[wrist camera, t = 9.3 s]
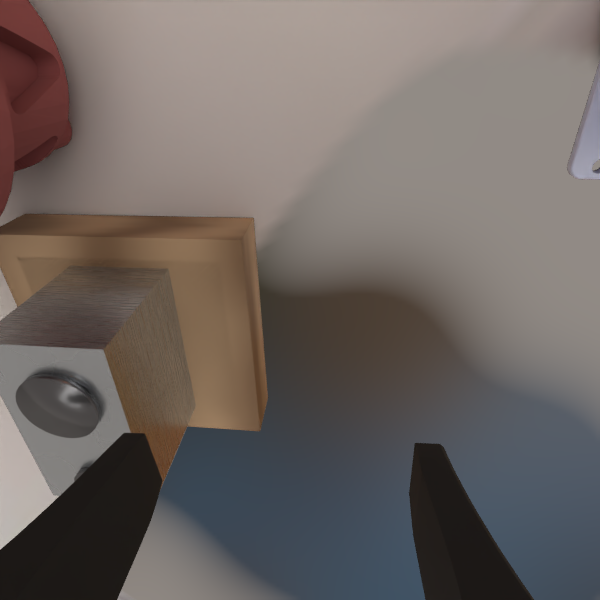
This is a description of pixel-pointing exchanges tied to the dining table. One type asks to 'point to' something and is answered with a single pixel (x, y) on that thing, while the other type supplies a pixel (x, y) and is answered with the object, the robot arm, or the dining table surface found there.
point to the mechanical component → (29, 93)
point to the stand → (186, 288)
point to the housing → (96, 368)
